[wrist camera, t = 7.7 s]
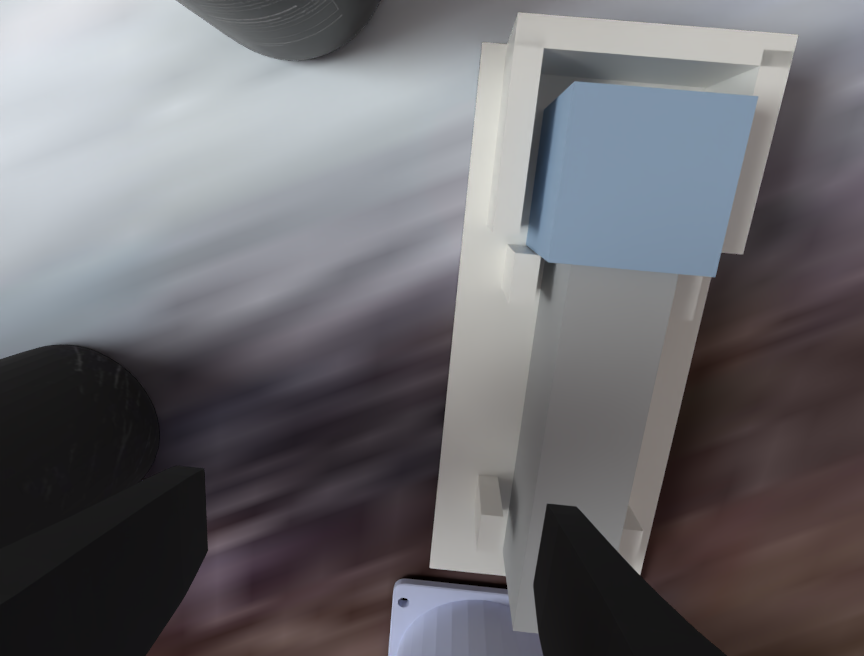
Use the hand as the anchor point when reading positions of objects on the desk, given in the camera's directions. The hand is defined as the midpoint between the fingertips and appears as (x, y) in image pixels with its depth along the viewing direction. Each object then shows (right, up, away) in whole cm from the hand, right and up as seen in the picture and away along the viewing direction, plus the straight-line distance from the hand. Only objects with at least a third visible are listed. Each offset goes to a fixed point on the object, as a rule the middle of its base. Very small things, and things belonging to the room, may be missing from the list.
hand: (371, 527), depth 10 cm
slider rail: (+7, +4, +9) cm, 12 cm away
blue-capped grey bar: (+7, +4, +8) cm, 11 cm away
